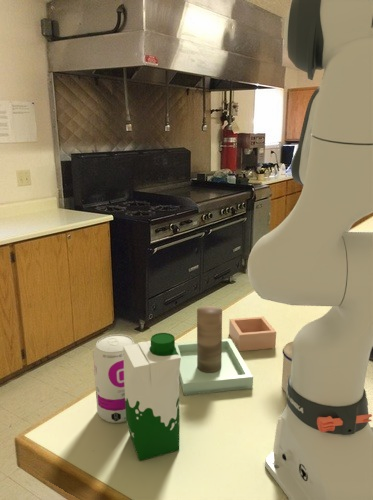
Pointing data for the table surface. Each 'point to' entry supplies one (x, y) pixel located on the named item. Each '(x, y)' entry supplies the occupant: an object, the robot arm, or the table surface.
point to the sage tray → (225, 379)
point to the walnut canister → (209, 339)
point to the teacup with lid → (286, 364)
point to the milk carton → (152, 395)
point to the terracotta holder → (252, 333)
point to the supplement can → (110, 377)
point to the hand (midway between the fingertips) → (281, 271)
